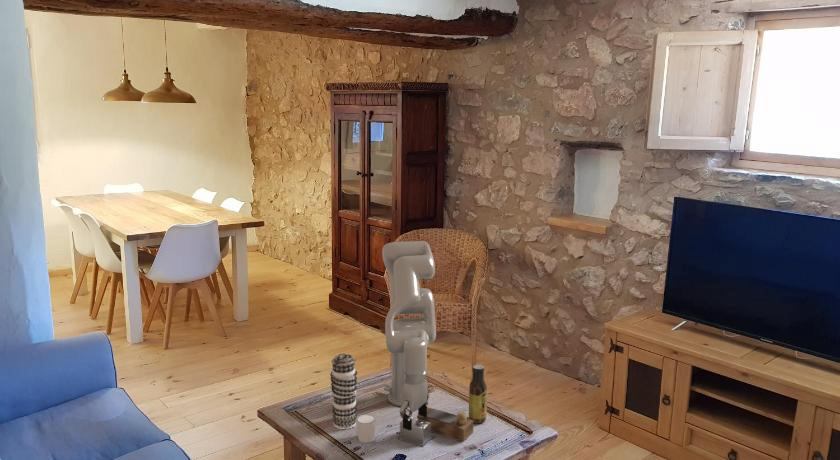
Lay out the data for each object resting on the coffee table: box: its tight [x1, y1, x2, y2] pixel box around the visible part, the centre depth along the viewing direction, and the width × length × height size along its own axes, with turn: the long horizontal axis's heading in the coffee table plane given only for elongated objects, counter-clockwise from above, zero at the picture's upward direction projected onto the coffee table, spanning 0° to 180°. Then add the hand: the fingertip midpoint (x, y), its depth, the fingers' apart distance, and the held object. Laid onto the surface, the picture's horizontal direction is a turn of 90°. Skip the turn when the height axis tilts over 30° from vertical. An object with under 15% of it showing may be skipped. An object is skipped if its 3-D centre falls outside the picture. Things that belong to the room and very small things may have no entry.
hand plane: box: [416, 406, 474, 442], centre depth 215 cm, size 18×7×8 cm, turn 59°
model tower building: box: [329, 353, 358, 430], centre depth 218 cm, size 9×9×25 cm
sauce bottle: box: [468, 364, 488, 424], centre depth 221 cm, size 7×6×20 cm
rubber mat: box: [396, 434, 435, 448], centre depth 211 cm, size 10×7×1 cm
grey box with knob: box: [399, 416, 432, 443], centre depth 210 cm, size 9×5×6 cm, turn 59°
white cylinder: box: [355, 413, 377, 443], centre depth 210 cm, size 7×7×7 cm
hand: (415, 422), depth 211 cm, fingers open, 9 cm apart
